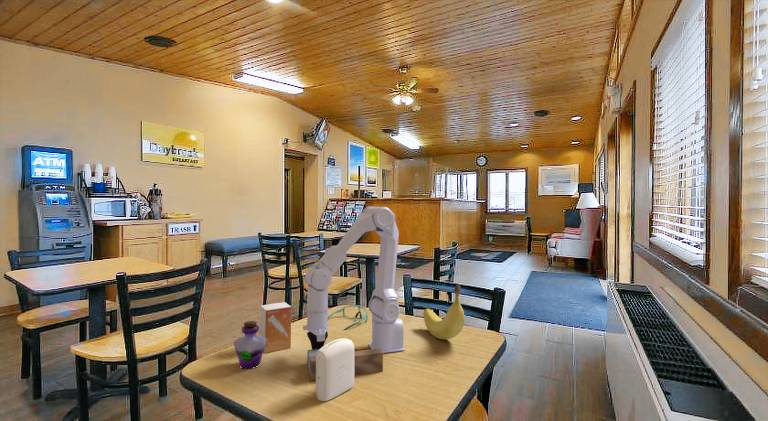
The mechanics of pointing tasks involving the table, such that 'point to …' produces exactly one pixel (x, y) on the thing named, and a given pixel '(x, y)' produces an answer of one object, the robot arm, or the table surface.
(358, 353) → the walnut board
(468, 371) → the table surface
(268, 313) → the small box
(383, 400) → the table surface
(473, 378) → the table surface
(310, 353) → the slate block
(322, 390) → the photo printer
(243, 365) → the potion bottle
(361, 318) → the safety glasses
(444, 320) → the banana
